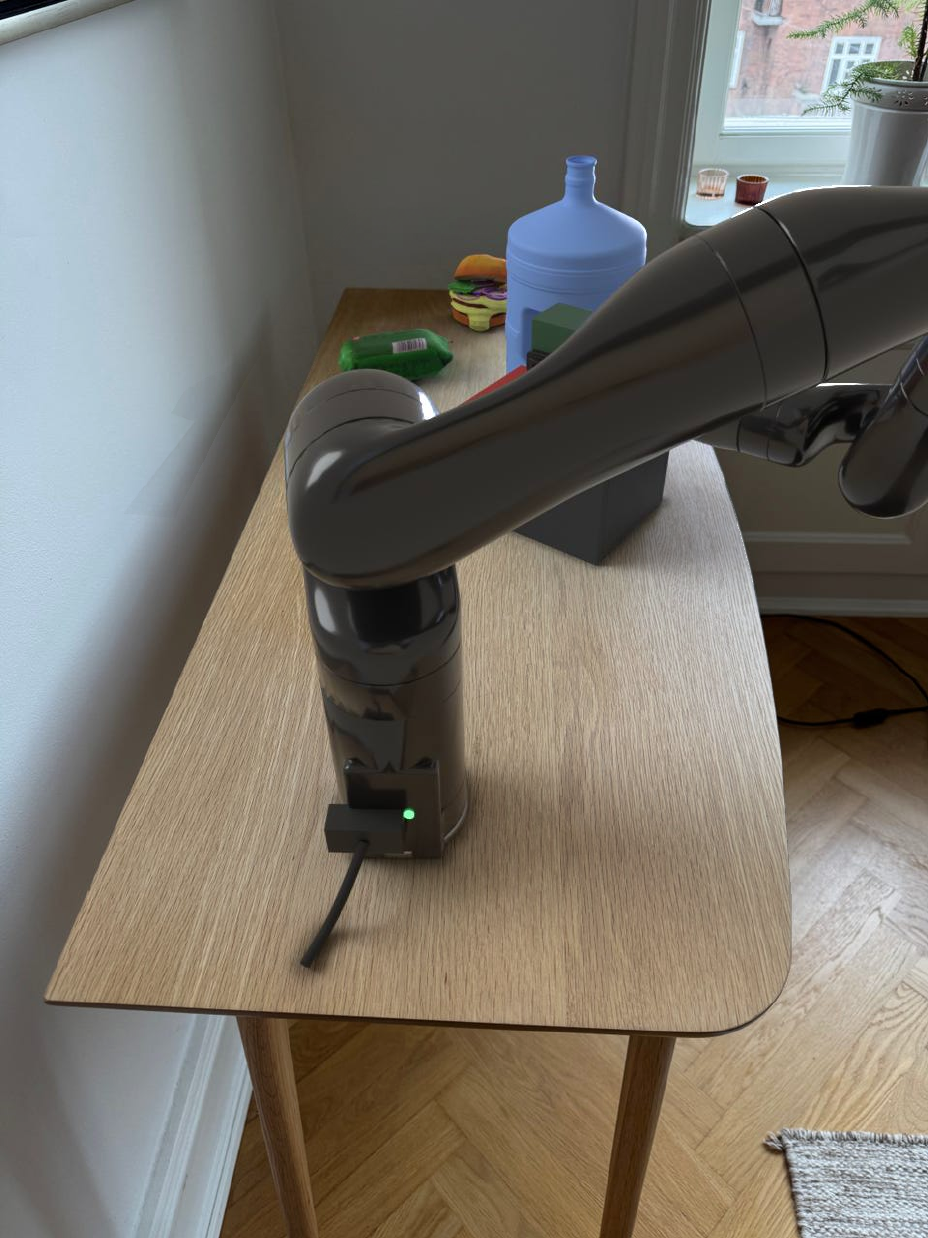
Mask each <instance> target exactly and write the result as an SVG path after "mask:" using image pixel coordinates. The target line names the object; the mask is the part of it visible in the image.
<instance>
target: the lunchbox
mask: <svg viewBox="0 0 928 1238" xmlns="http://www.w3.org/2000/svg"><path fill="white" fill-rule="evenodd" d="M670 453H671V450H669V451H667V452H665V453H663V454H661V455H659V456H657V457H655V458H653V459H651V460H648V461H646V462H644V463H642V464H640V465H638V466H636V467H634V468H632V469H630V470H628V471H625V472H623V473H621V474H619V475H617V476H614V477H612V478H610V479H608V480H606V481H604V482H601V483H599V484H597V485H595V486H593V487H591V488H589V489H587V490H585V491H583V492H581V493H579V494H577V495H575V496H573V497H571V498H570V499H568V500H566V501H564V502H562V503H560V504H558V505H557V506H555V507H553V508H551V509H549V510H548V511H546V512H544V513H542V514H540V515H539V516H537V517H535V518H533V519H532V520H530V521H528V522H526V523H525V524H523V525H521V526H519V527H518V528H516V529H514V530H512V531H511V532H514V533H516V534H520V535H522V536H525V537H526V538H529V539H532V540H534V541H537V542H539V543H541V544H544V545H546V546H548V547H551V548H553V549H555V550H558V551H561V552H563V553H566V554H568V555H570V556H573V557H575V558H578V559H580V560H582V561H584V562H587V563H589V564H592V565H594V566H597V565H599V564H600V563H601V561H602V560H604V559H605V558H606V557H607V556H608V555H609V554H610V553H611V552H612V551H613V550H614V549H615V548H616V547H617V546H618V545H619V544H620V543H622V541H624V539H626V537H628V536H629V535H630V534H631V533H632V532H633V531H634V530H635V529H636V528H637V527H638V526H639V525H640V524H641V523H642V522H643V521H644V520H645V519H646V518H647V517H648V516H650V514H652V513H653V512H654V511H655V510H656V509H657V508H658V507H659V506H660V505H661V504H662V503H663V499H664V492H665V486H666V485H665V484H666V479H667V473H668V472H667V470H668V464H669V457H670Z"/></svg>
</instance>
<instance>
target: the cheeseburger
mask: <svg viewBox="0 0 928 1238" xmlns="http://www.w3.org/2000/svg"><path fill="white" fill-rule="evenodd" d="M453 278H454V280H455V281H453V282H452V283H448V284H447V287H446V289H448V291H449V292H448V293H449V296H450V299H451V300H452V301H451V302H450V305H451V306H452V308H451V309H452V310H451V311H452V315H453V318H454V320H456V321H457V322H459V323H461V324H462V325H465V326H468V328H470V329H471V330H473V331H476V332H486V331H487V330H489V329H490V328H492V327H496V326H501V325H503V324H505V320H506V314H507V268H506V258H500V257H495V256H492V255H489V254H471V255H467V256H466V257H465V258H464V259H462V260H461V261H460V263H459V265H458V266H457V268H456V270H455V273H454V276H453Z"/></svg>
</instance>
